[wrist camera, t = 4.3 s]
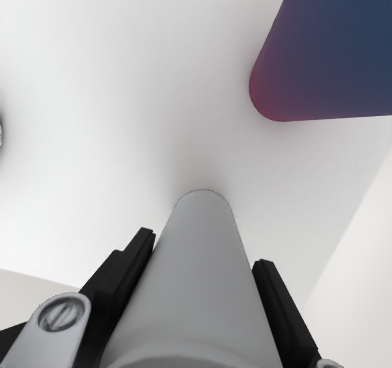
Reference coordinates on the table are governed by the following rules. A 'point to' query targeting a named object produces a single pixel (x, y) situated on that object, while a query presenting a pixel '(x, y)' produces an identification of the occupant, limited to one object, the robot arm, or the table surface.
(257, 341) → the beverage can
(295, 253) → the table surface
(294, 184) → the table surface
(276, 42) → the cup
